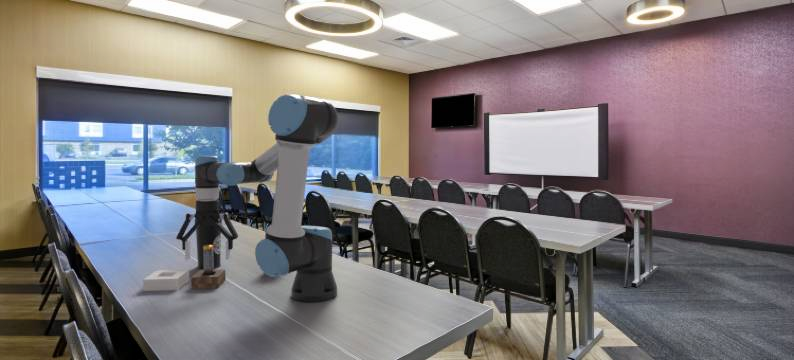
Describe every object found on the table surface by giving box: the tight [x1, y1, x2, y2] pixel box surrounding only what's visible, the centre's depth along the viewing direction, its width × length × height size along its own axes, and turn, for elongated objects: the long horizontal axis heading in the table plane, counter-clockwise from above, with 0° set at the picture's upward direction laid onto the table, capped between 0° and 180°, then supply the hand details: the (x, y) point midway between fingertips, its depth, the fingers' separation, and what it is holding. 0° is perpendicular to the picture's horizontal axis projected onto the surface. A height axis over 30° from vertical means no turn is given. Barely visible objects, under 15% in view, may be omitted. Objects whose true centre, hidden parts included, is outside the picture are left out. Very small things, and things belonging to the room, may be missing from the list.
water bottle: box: [194, 217, 223, 270], centre depth 172 cm, size 10×10×23 cm
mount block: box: [190, 269, 226, 290], centre depth 150 cm, size 9×9×4 cm
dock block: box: [142, 269, 190, 292], centre depth 148 cm, size 11×11×4 cm
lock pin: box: [203, 245, 215, 275], centre depth 150 cm, size 3×3×14 cm
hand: (208, 258), depth 150 cm, fingers open, 13 cm apart
